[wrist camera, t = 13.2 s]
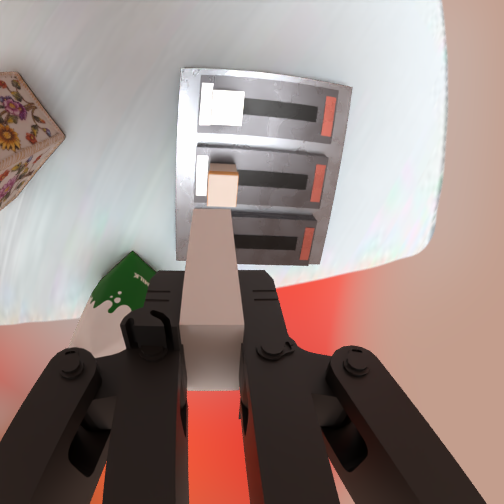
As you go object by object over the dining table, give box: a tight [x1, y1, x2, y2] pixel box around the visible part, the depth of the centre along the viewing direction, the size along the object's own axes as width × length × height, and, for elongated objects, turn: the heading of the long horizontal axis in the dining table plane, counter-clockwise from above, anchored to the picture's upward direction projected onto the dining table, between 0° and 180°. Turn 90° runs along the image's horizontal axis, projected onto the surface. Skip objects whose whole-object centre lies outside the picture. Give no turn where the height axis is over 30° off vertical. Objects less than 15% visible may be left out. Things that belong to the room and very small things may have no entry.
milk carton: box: [68, 251, 156, 358], centre depth 31 cm, size 9×9×20 cm
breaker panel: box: [176, 68, 352, 266], centre depth 30 cm, size 21×17×8 cm
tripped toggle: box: [207, 163, 239, 207], centre depth 28 cm, size 3×2×4 cm
